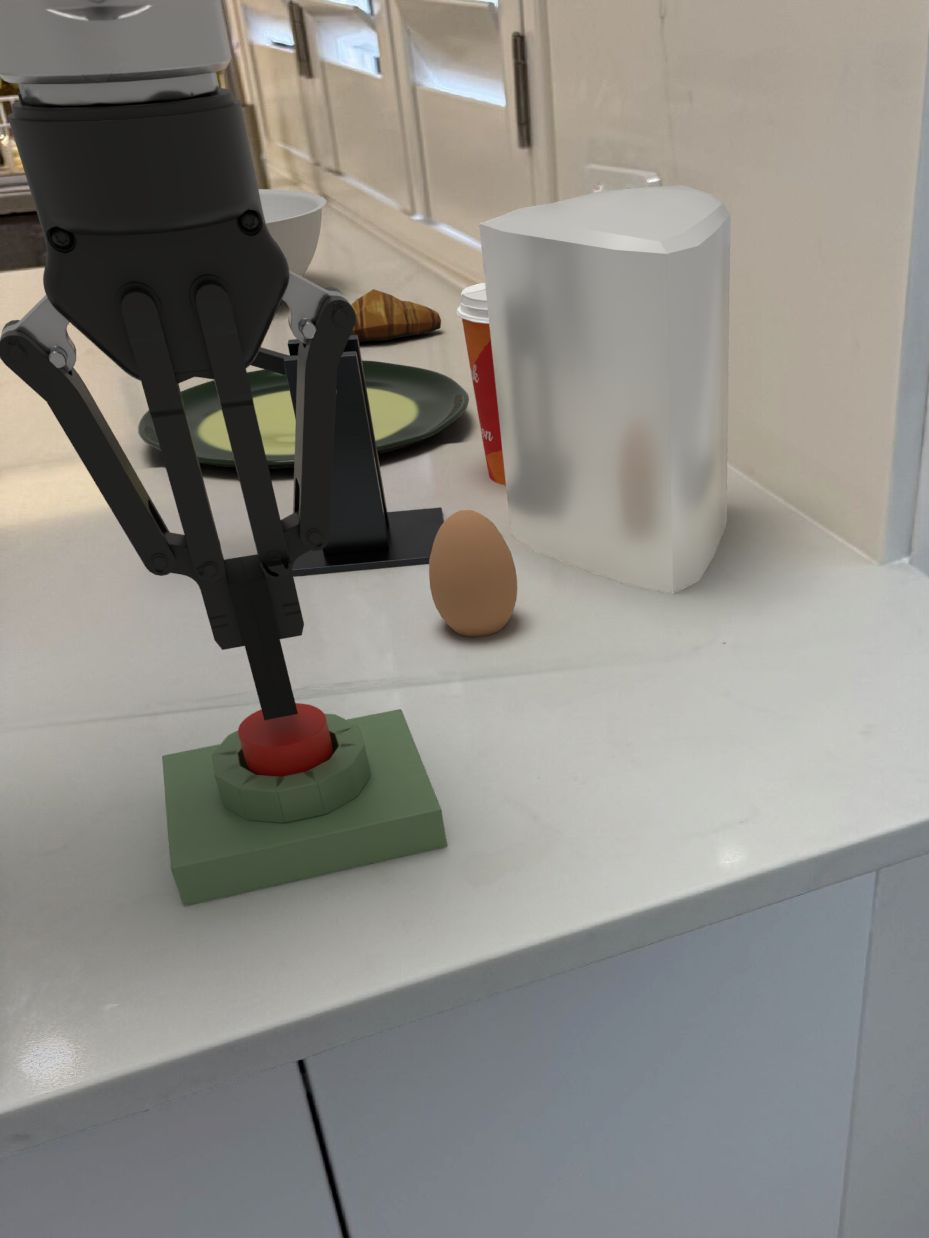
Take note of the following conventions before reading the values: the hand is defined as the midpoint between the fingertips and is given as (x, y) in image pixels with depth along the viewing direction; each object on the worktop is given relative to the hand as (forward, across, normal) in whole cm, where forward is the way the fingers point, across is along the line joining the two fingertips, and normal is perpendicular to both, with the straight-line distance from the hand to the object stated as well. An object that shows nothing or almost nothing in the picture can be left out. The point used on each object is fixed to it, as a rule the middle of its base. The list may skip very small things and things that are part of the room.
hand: (277, 702), depth 55 cm
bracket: (+6, +8, +31) cm, 33 cm away
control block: (+7, 0, 0) cm, 7 cm away
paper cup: (+7, +22, +40) cm, 47 cm away
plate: (+7, +8, +60) cm, 61 cm away
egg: (+7, +12, +16) cm, 21 cm away
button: (+3, 0, 0) cm, 3 cm away
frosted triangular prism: (+7, +27, +25) cm, 37 cm away
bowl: (+6, +5, +115) cm, 115 cm away
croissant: (+7, +19, +89) cm, 92 cm away
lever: (-6, +2, +32) cm, 33 cm away
